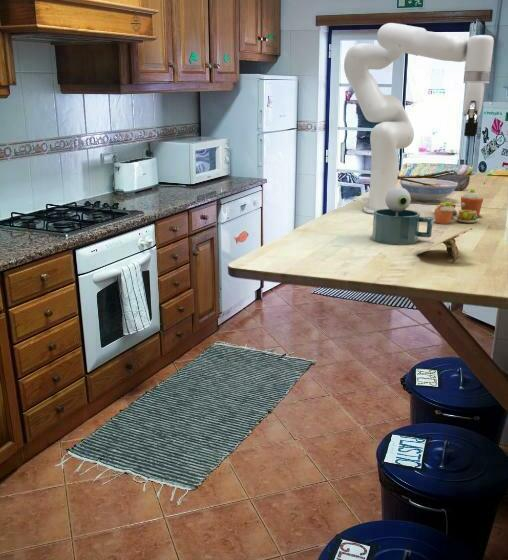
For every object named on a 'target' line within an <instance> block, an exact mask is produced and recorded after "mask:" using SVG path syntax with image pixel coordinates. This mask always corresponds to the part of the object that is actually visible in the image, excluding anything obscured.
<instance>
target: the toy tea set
mask: <svg viewBox="0 0 508 560" xmlns="http://www.w3.org/2000/svg"><path fill="white" fill-rule="evenodd" d="M483 201H484V197H483V196H481V195H480V194H479V193H478V192H476V190H475V189H474V188H471V189H470V191H468V192H466V193H464V194H463V195H462V196H461V197H460V207H461V208H460V210H458V211H457V210H456V203H454V202H450V201H445V202H443V201H442V202H440V203H439V205H437V206H436V207H435V208H434V218H435V219H434V220H435V223H436V224H440V225H448V224H450V223H451V219H452V218H453V215H455V217H456V221H457V222H460V223H464V224H473V223H476V222H478V218H479V216H480V212H481V209H482V205H483ZM457 213H458V214H457Z"/></svg>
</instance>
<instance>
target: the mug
mask: <svg viewBox="0 0 508 560" xmlns="http://www.w3.org/2000/svg"><path fill="white" fill-rule="evenodd" d="M433 220H434V219H433V218H432V217H429V216H427V217H426V216H421V213H420V212H418V211H415V210H411V209H405V210H404V211H401V212H398V216H396V212H394V211H392V210H390V209H379V210H375V211H374V214H373V220H372V221H373V222H372V235H371V238H372V240H373V241H374V242H376V243H381V244H387V245H397V246H398V245H399V246H400V245H401V246H402V245H404V246H406V245H413V244H417V243H418V241H419V238H431V237H432V233H433V224H434V223H433V222H434V221H433ZM420 223H427V224H426V232H425V231H420Z"/></svg>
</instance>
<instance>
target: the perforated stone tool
mask: <svg viewBox="0 0 508 560" xmlns="http://www.w3.org/2000/svg"><path fill="white" fill-rule="evenodd" d="M436 179H437V180H446V181H452V182H456V183H457V184H458V185H457V187H456V188H455V190H454V191H456V190H461V191H463V190H467V188H468V186H469V185H470V179H471V177H470V175H469V174H445V175H441V176H438V177H436Z"/></svg>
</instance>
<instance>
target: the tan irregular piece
mask: <svg viewBox="0 0 508 560" xmlns="http://www.w3.org/2000/svg"><path fill="white" fill-rule="evenodd" d="M469 230H470V231H472V230H473V228H471V227H470V228H466V229H464V230H462V231H459V232H458V233H456V234H454V235H452V236H450V237H448V238H446V239H444V240H442V241H440V242H438V243H436V244H433V245H432V246H430V247H428V248H426V249H424V250H422V251H420V254H422V253H424V252H426V251H428V250H430V249H432V248H434V247H435V246H438V245H441V244H444V246H445V248H446V253H447V255H449V256H451V257H452V258H453V259H452V263H455V262H456V261H457V258H458V256H459V253H460V252H459V248H458V245H457V243H456V238H458V237H459V236H460V235H463V234H468V233H469Z"/></svg>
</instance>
